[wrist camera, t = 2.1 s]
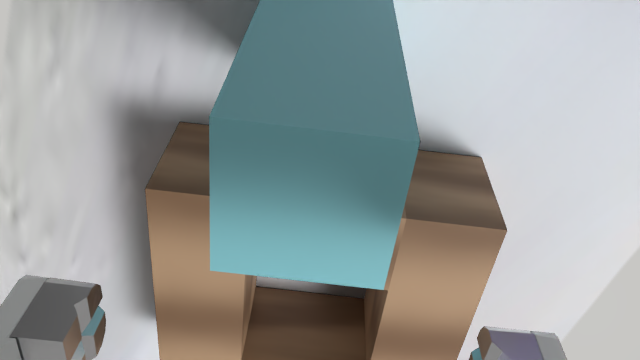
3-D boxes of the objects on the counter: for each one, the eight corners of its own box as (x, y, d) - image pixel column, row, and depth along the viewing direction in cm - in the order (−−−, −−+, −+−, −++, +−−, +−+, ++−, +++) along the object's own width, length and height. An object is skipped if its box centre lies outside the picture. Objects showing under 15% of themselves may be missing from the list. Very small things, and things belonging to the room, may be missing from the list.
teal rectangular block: (275, -36, 25) (209, 116, 13) (388, -22, 25) (420, 141, 13) (269, 69, 28) (210, 270, 16) (370, 82, 28) (383, 290, 16)
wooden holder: (179, 121, 29) (145, 188, 24) (481, 157, 30) (507, 230, 25) (187, 325, 39) (163, 404, 34) (418, 350, 39) (428, 432, 34)
